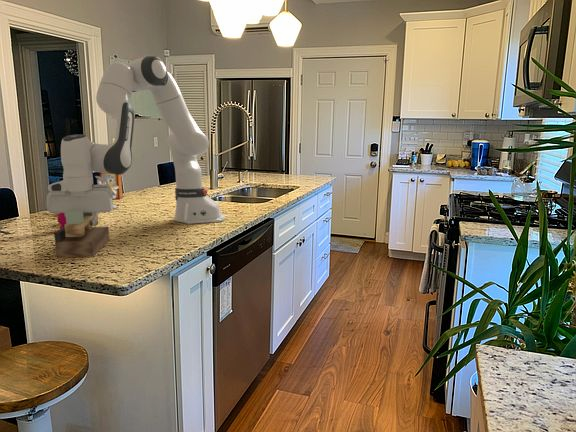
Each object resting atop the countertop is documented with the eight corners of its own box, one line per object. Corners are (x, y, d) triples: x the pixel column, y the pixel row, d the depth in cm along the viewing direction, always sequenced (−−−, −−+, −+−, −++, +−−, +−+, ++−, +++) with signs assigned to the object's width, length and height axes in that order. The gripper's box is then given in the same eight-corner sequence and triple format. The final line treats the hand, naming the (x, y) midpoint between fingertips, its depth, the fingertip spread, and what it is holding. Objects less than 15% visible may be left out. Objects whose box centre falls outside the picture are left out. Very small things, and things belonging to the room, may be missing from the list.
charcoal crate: (95, 213, 155) (94, 202, 154) (92, 215, 151) (91, 204, 150) (83, 213, 154) (82, 202, 154) (80, 215, 151) (79, 204, 150)
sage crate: (83, 221, 142) (82, 209, 142) (79, 224, 139) (78, 211, 138) (70, 221, 142) (69, 209, 141) (66, 224, 138) (65, 212, 137)
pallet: (98, 223, 156) (97, 212, 156) (82, 236, 139) (81, 224, 138) (83, 223, 156) (82, 213, 155) (65, 237, 138) (64, 224, 137)
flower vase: (81, 229, 202) (126, 207, 220) (72, 194, 192) (119, 174, 210) (65, 220, 208) (109, 200, 226) (55, 186, 199) (102, 167, 217)
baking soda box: (101, 199, 240) (99, 170, 236) (105, 197, 246) (103, 169, 243) (119, 199, 241) (117, 170, 237) (122, 197, 247) (120, 169, 244)
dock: (109, 239, 159) (107, 218, 157) (93, 256, 140) (91, 232, 138) (77, 240, 158) (75, 219, 156) (56, 257, 138) (54, 233, 137)
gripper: (114, 183, 149) (117, 222, 152) (50, 183, 146) (54, 223, 149) (109, 185, 142) (112, 226, 145) (42, 186, 140) (47, 228, 143)
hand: (82, 225), depth 147 cm, fingers closed on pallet, 5 cm apart
